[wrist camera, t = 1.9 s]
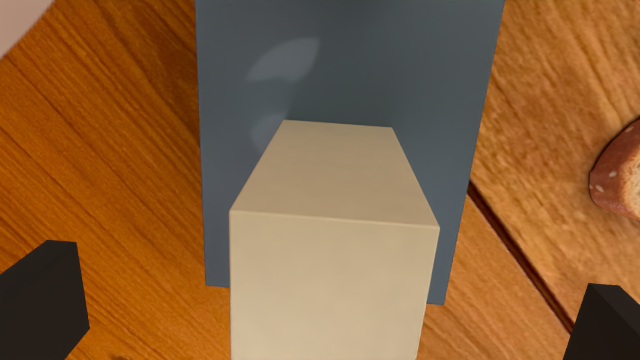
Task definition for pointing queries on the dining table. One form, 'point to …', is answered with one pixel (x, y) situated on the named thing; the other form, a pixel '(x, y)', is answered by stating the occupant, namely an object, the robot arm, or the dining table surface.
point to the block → (330, 248)
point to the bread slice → (619, 175)
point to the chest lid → (343, 94)
